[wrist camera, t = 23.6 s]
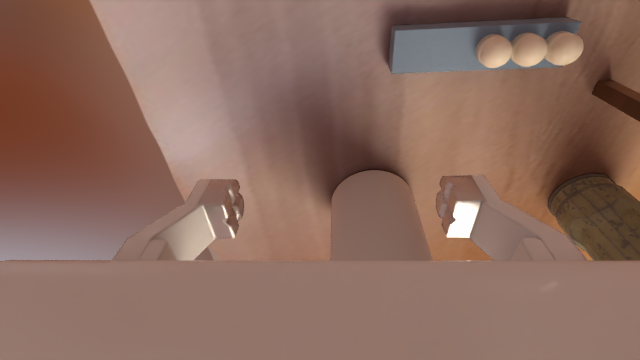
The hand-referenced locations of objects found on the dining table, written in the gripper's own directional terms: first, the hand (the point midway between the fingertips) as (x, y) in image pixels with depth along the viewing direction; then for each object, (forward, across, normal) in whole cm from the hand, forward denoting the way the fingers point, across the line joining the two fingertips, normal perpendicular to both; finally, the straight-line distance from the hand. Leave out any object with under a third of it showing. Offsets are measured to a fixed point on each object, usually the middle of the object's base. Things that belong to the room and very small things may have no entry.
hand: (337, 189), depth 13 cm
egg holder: (+27, -15, +2) cm, 31 cm away
